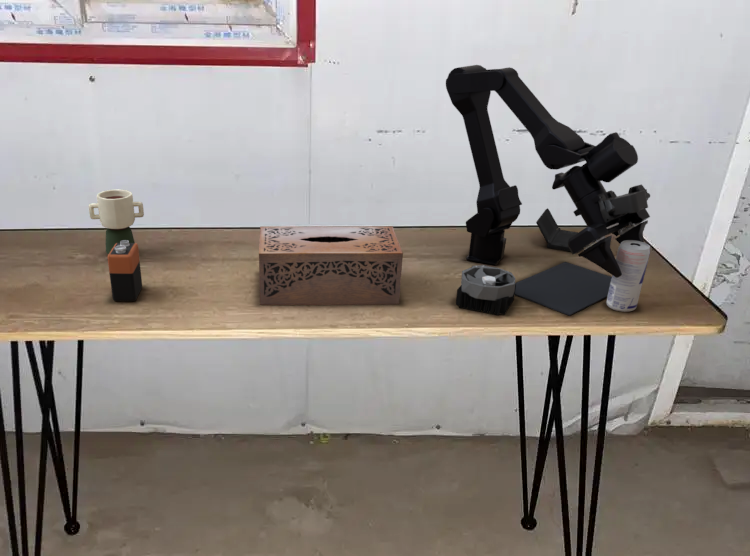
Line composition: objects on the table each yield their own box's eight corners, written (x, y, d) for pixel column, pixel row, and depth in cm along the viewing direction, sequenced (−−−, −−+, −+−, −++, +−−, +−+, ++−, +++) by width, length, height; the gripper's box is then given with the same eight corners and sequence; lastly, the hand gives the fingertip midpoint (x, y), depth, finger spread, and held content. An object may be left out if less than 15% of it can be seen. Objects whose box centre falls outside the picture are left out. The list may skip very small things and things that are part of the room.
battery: (112, 302, 143) (105, 250, 138) (120, 287, 149) (114, 237, 144) (135, 302, 143) (130, 251, 138) (143, 287, 149) (137, 237, 144)
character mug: (147, 247, 167) (142, 188, 161) (147, 259, 161) (141, 198, 155) (96, 249, 166) (88, 190, 159) (93, 262, 160) (85, 200, 153)
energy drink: (637, 303, 145) (652, 242, 139) (634, 314, 141) (650, 252, 135) (607, 298, 147) (621, 238, 141) (604, 309, 143) (617, 247, 137)
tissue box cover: (389, 274, 156) (392, 226, 151) (399, 304, 143) (402, 253, 138) (261, 274, 155) (260, 226, 150) (259, 304, 142) (258, 253, 137)
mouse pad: (501, 290, 150) (501, 288, 149) (565, 263, 162) (565, 261, 162) (569, 315, 140) (569, 314, 140) (631, 284, 153) (631, 283, 152)
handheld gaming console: (586, 245, 166) (563, 205, 165) (555, 262, 169) (532, 223, 168) (585, 235, 176) (563, 198, 175) (556, 252, 180) (534, 215, 178)
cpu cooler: (509, 290, 136) (453, 280, 140) (505, 319, 139) (450, 308, 142) (522, 270, 144) (469, 261, 148) (518, 298, 147) (466, 288, 151)
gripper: (596, 181, 129) (643, 261, 128) (651, 162, 140) (695, 237, 138) (548, 215, 138) (591, 291, 137) (603, 195, 149) (644, 265, 147)
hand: (632, 270), depth 140 cm, fingers open, 9 cm apart
